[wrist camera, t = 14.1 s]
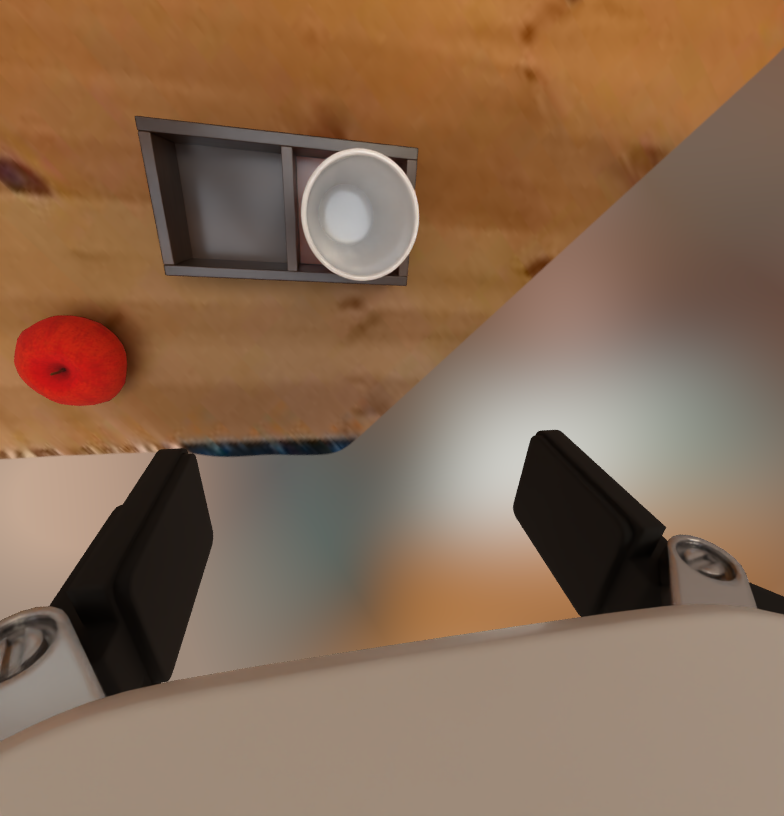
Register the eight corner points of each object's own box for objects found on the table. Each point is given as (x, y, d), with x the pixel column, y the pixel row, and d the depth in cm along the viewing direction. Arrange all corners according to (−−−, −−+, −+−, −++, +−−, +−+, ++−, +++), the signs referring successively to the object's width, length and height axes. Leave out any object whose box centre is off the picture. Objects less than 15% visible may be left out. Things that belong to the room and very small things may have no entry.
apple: (155, 381, 39) (122, 416, 32) (70, 388, 38) (18, 425, 31) (128, 303, 35) (85, 325, 29) (33, 308, 34) (-34, 331, 27)
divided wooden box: (164, 131, 30) (133, 115, 25) (403, 157, 33) (418, 147, 28) (187, 265, 34) (165, 275, 29) (394, 275, 38) (406, 286, 33)
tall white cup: (323, 154, 32) (327, 116, 18) (394, 196, 34) (442, 187, 21) (295, 234, 34) (281, 250, 21) (363, 268, 36) (389, 301, 23)
